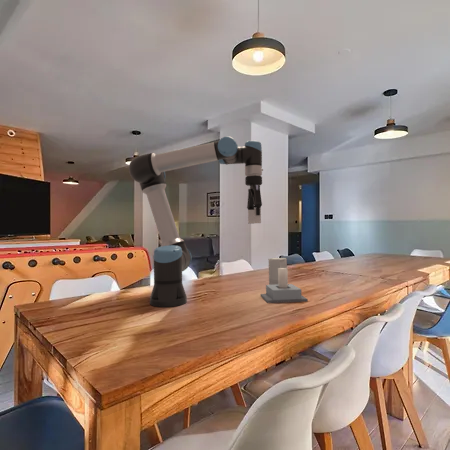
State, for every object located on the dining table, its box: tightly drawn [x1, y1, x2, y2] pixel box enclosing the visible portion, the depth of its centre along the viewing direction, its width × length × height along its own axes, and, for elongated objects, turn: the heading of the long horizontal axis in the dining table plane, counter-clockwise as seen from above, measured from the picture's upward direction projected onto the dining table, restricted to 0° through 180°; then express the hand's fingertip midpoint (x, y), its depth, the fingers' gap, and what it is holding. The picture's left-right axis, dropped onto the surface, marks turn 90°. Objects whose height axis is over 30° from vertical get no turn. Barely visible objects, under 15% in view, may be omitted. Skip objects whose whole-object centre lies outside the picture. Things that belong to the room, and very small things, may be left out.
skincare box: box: [268, 257, 288, 285], centre depth 149 cm, size 8×7×16 cm
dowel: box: [278, 267, 289, 289], centre depth 131 cm, size 4×4×12 cm
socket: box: [260, 283, 308, 304], centre depth 131 cm, size 17×12×5 cm
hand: (254, 223), depth 136 cm, fingers open, 13 cm apart
